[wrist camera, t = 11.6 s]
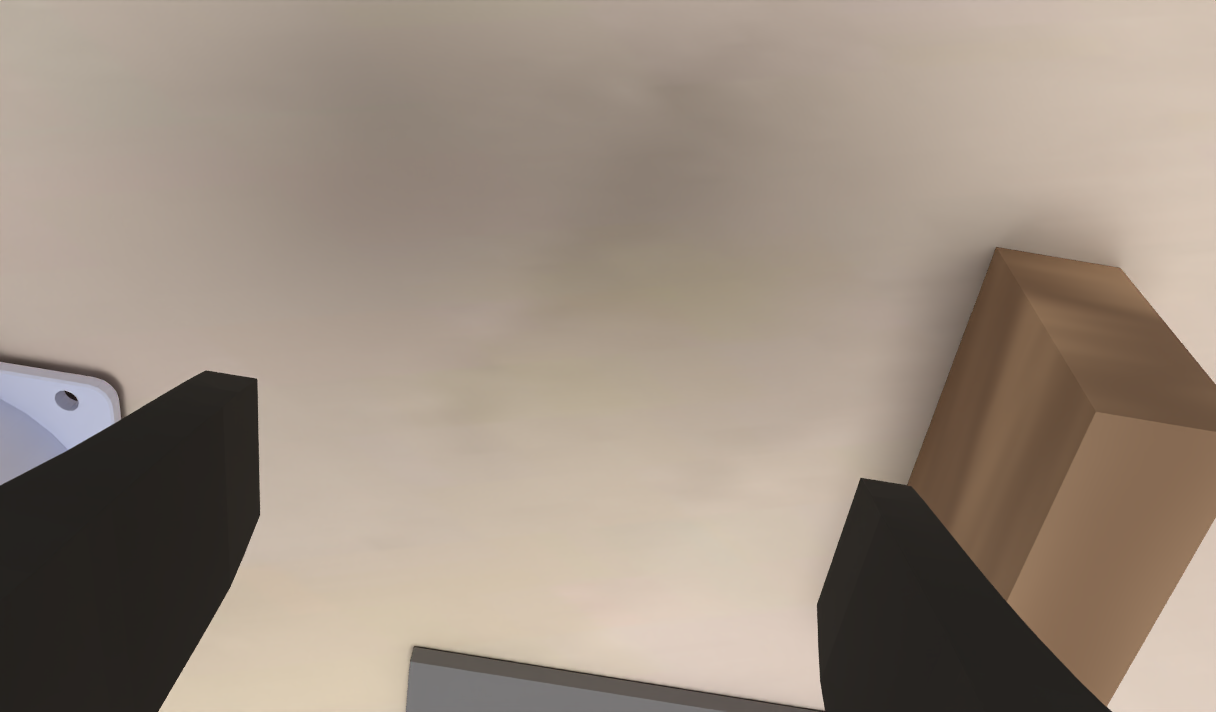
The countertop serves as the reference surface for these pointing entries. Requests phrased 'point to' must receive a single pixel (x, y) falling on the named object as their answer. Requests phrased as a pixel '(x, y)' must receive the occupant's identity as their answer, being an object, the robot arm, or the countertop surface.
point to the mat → (546, 690)
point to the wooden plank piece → (1073, 457)
